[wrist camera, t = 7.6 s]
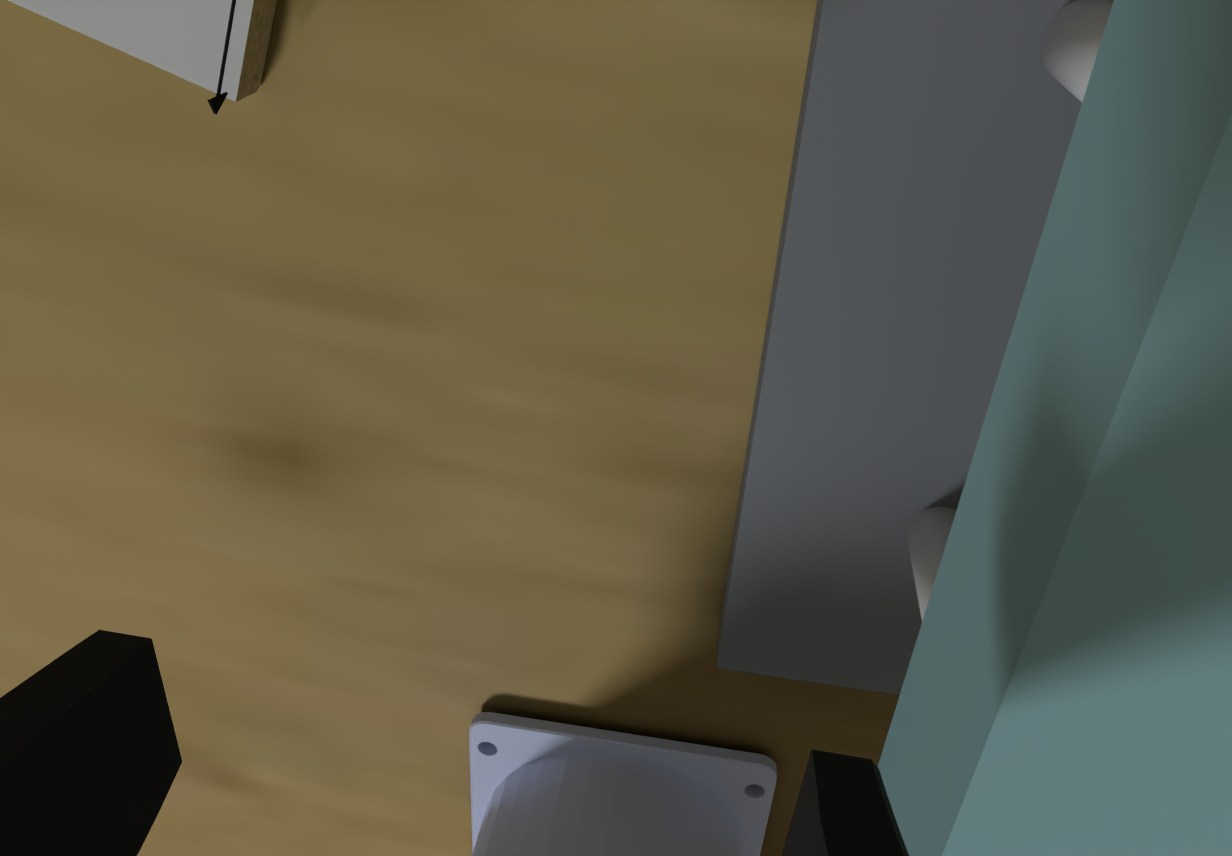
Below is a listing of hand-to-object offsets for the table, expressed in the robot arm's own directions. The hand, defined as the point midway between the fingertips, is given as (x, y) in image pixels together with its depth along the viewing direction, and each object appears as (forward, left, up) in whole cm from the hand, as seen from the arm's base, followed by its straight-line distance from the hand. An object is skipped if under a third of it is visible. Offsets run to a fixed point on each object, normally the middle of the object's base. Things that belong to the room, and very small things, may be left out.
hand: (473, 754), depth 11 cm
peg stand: (+2, -8, -10) cm, 13 cm away
